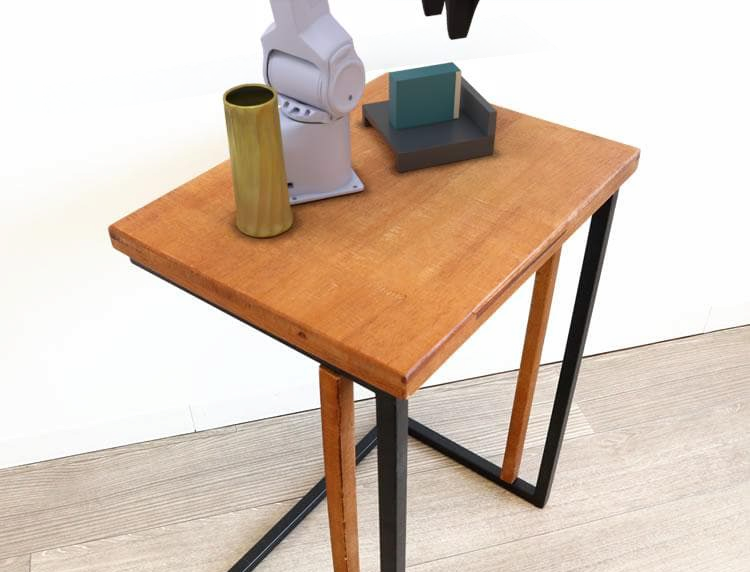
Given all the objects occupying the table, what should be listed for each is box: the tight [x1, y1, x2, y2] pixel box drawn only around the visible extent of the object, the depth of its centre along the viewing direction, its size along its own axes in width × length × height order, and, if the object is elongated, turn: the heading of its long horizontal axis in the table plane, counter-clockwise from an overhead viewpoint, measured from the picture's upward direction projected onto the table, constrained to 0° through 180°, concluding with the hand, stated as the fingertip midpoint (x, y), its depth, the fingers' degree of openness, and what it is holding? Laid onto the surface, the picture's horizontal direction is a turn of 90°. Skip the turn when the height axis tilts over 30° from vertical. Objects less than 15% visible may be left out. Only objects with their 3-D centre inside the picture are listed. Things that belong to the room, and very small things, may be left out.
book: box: [388, 61, 462, 130], centre depth 99 cm, size 3×8×6 cm, turn 110°
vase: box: [222, 82, 295, 238], centre depth 85 cm, size 6×6×14 cm
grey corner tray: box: [361, 75, 498, 174], centre depth 101 cm, size 12×13×6 cm
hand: (445, 26), depth 102 cm, fingers open, 7 cm apart
